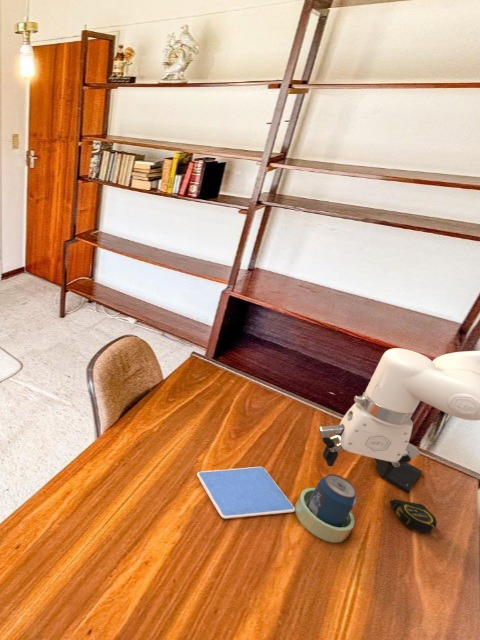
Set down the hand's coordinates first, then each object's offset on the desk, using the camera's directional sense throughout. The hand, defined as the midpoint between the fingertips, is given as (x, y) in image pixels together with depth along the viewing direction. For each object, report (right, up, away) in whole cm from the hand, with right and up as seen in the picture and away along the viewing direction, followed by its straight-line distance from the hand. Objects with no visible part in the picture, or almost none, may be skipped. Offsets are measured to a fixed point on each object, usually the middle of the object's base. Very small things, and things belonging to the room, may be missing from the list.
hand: (353, 467), depth 86 cm
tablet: (-16, -13, +14) cm, 25 cm away
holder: (-1, -17, +8) cm, 19 cm away
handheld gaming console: (+29, -11, +22) cm, 38 cm away
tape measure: (+21, -17, +9) cm, 29 cm away
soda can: (-1, -16, +8) cm, 18 cm away
